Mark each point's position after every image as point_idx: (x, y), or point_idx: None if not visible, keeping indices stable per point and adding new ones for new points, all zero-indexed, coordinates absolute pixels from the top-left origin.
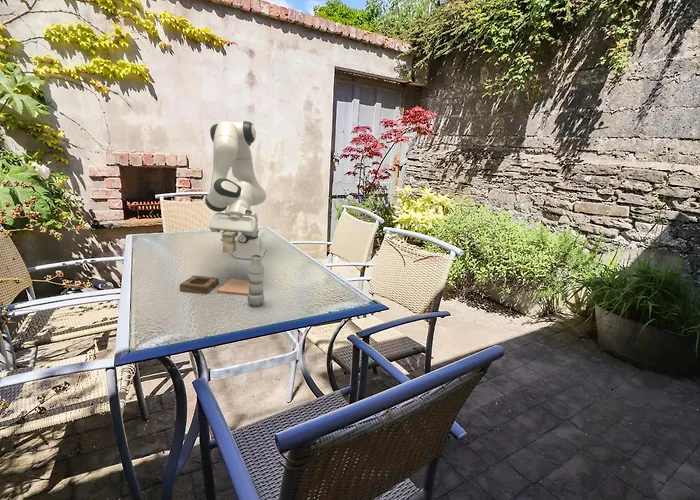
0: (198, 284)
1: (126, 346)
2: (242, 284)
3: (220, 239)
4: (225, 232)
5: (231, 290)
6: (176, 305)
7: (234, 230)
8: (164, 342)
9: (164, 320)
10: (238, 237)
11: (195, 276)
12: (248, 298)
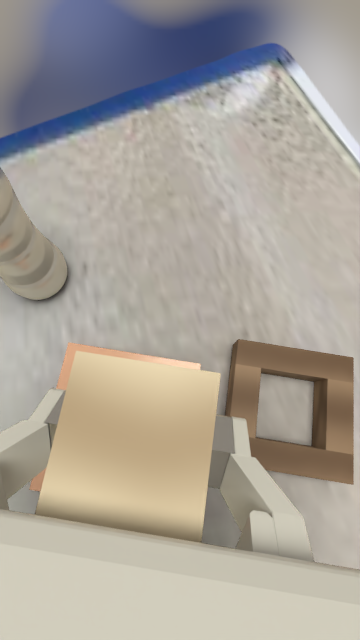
0: (281, 367)
1: (295, 74)
2: None
3: (244, 420)
4: (198, 458)
5: None
6: (292, 251)
7: (41, 517)
8: (229, 86)
9: (278, 168)
10: (16, 436)
11: (337, 468)
12: (58, 249)
